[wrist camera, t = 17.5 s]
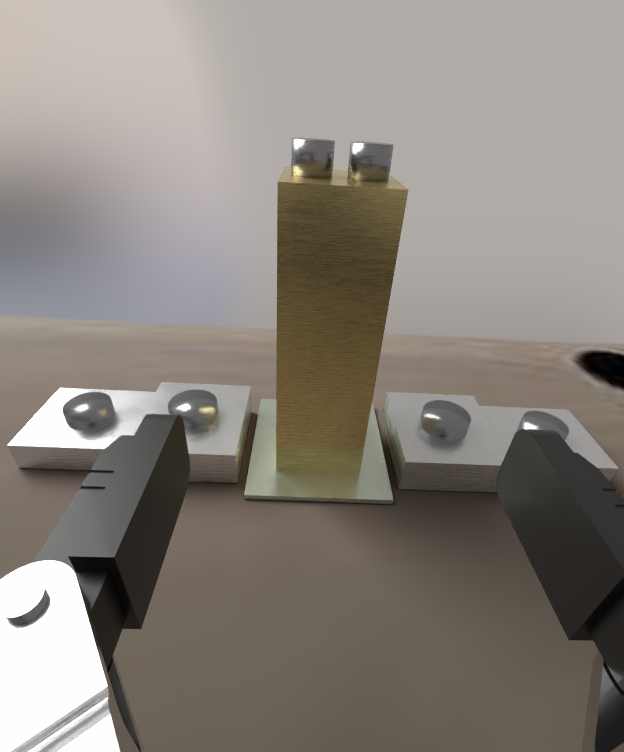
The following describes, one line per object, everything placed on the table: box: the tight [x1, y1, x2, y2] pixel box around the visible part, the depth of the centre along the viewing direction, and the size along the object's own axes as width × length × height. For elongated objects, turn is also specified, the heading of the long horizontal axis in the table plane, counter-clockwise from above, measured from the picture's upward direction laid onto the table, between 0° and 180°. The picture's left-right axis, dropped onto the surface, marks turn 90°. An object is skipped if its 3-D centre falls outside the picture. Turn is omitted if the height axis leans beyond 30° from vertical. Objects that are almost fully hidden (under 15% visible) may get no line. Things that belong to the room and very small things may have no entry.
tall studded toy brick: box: [276, 138, 408, 474], centre depth 19 cm, size 4×4×15 cm
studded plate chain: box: [8, 382, 619, 504], centre depth 23 cm, size 32×8×3 cm, turn 90°
